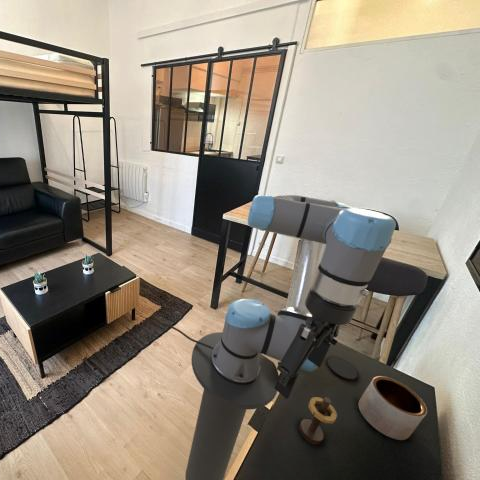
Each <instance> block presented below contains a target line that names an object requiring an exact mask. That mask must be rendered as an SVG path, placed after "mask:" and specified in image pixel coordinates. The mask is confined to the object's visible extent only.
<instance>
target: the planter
mask: <svg viewBox="0 0 480 480" xmlns="http://www.w3.org/2000/svg"><path fill="white" fill-rule="evenodd" d="M358 410H359V411H360V414H361V415H362V416H363V418H364V419H365V421H366V422H367V423H368V424H369V425H370V426H371V427H372V428H374V429H375V430H376V431H377V432H379V433H380V434H382V435H383V436H386V437H388V438H390V439H392V440H396V441H405V440H407V439H409V438H410V437H411V436H412V435H413V433H414V431H416V429H417V428H418V426H419V425H420V424H421V422H422V421H423V419H424V418H425V417H426V415H427V414H428V408H427V406H426V403H425V402H424V401H423V399H422V398H421V397H420V396H419V395H418V394H417V393H416V392H415V391H414V390H413V389H412V388H410V387H408V386H407V385H406V384H404V383H403V382H400V381H398V380H396V379H394V378H391V377H389V376H384V375H378V376H374V377H373V378H371V381H370V382H369V385H368V386H367V387H366V389H365V390H364V392H363V393H362V395H361V396H360V399H359V400H358Z"/></svg>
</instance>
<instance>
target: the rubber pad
mask: <svg viewBox="0 0 480 480" xmlns="http://www.w3.org/2000/svg"><path fill="white" fill-rule="evenodd" d="M327 366H328V368H329V369H330V371H331V372H332V373H334V374H335V375H336V376H338V377H339V378H341V379H344V380H347V381H355V380H356V379H357V377H358V371H357V370H356V369H355V367H354V366H353V365H352V364H351V363H349V362H348V361H346V360H344V359H342V358H339V357H335V356H333V357H330V358H329V359H328V360H327Z"/></svg>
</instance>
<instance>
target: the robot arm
mask: <svg viewBox="0 0 480 480" xmlns="http://www.w3.org/2000/svg"><path fill="white" fill-rule="evenodd" d="M247 225H248V226H249V227H250V228H253V229H256V230H260V231H263V232H264V231H265V232H270V233H273V234H274V233H275V234H279V235H283V236H288V237H293V238H297V239H299V240H300V245H299V247H298V248H299V249H298V253H297V257H296V261H295V266H294V269H293V274H292V278H291V282H290V286H289V290H288V294H287V299H286V303H285V305H284V307H283V308H281V309H279V310H278V311H277V315H275V314H273V313H272V312H271V311H270V308H269V307H268V305H265V304H264V303H263V302H261V301H259V300H256V299H252V298H241V299H237V300H234V301H233V302H231V303H230V305H229V306H228V308H227V312H226V313H225V317H224V319H225V320H224V324H223V328H222V331H221V332H222V337H221V339H220V340H219V342H218V343H217V344H216V346H215V347H211V346H209V345H206V344H204V343H202V342H199V340H196V339H194V338H191V337H190V336H188V335H187V334H186V333H184V332H183V331H182V330H180V329H178V328H177V327H175V326H172V325H170V324H169V323H167V322H164V323H163V325H164V326H166V327H169V328H170V329H173V330H175V331H177V332H178V333H180V334H181V335H182V336H183V337H185V338H187V339H188V340H189V341H191V342H193V343H195V344H196V343H198V344H201V345H204V346H206V347H208V348H211V349H213V351H212V355H211V362H212V365H213V367H214V369H215V371H216V372H217V373H218V374H219V375H220V376H221V377H222V378H224V379H225V380H227V381H229V382H231V383H234V384H240V385H245V384H250V383H252V382H253V381H255V379H256V378H257V376H258V374H259V371H260V369H261V365H260V366H259V357H258V352H259V353H262V355H263V356H267V357H269V358H272V359H274V360H276V361H277V366H276V368H277V371H278V372H279V373H278V374H279V377H278V380H277V382H276V385H275V389H276V390H277V393H279V394H280V395H281V396H282V397H284V398H285V399H286V400H288V399H289V398H290V396H291V393H292V390H293V389H294V387H295V384H296V382H297V379H298V377H299V371H300V370H301V371H304V372H308V373H310V372H314V371H315V370H317V369H318V368H321V366H322V364H323V362H324V360H325V358H326V356H327V354H328V352H329V349H330V347H331V346H336V345H337V343H338V340H337V339H336V338H337V337H338V336H339V332H340V329H341V326H344V325H348V324H350V323H351V321H352V320H353V318H354V315H355V314H356V312H357V309H358V306H359V305H358V304H360V302H361V300H362V298H363V296H364V297H367V296H369V295H370V291H369V290H368V289H366V288H368V285H369V284H370V282H371V281H372V278H373V277H374V274H375V272H376V271H377V268H378V266H379V264H380V262H381V261H382V258H383V257H384V254H385V252H386V250H387V248H388V247H390V244H391V243H392V240H393V239H392V237H393V235H394V232H395V229H396V227H397V223H396V220H395V219H394V218H392V217H391V216H390V215H387V214H385V213H383V212H379V211H375V210H370V209H365V208H360V207H359V208H358V207H353V206H350V205H347V204H346V203H343V202H339V201H335V200H327V199H326V200H325V199H322V198H316V197H315V198H314V197H308V196H303V195H296V194H283V195H275V196H273V195H262V194H258V195H255V196H254V197H253V199H252V201H251V205H250V208H249V211H248V217H247Z"/></svg>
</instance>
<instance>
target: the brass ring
mask: <svg viewBox="0 0 480 480" xmlns="http://www.w3.org/2000/svg"><path fill="white" fill-rule="evenodd" d="M323 399H324V398H322V397H317V396H313V397H311V398H310V399H309V402H308V404H307V405H308V408H309V411H310V413H311V412H312V413H311V415H312V414H313V415H314V416H315V417H316V418H317V419H319V420H320V421H321V422H320V423H322V422H323V421H324V423H323V424H325V423H329V424H331V425H332V424H334V423H335V422H336V420H337V417H338V413H337V411H336V409H335V407H334V406H333V405H331V404H332V403H330V405H329V407H328V411H329V413H330V414H331V416H330V417H329V416H323V415H322V414H321V413H319V412H318V411H317V409H316V407H315V406H314V405H315V404H321V403H322V401H323ZM313 415H312V416H313ZM314 416H313V417H314Z"/></svg>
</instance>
